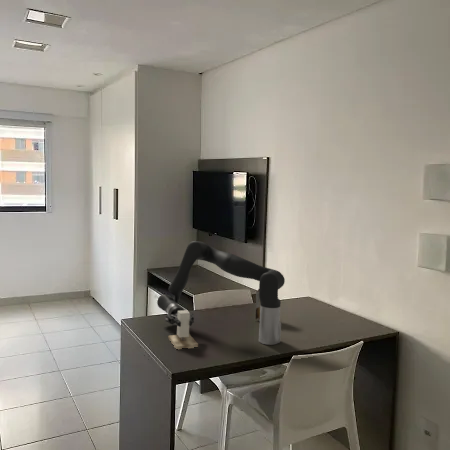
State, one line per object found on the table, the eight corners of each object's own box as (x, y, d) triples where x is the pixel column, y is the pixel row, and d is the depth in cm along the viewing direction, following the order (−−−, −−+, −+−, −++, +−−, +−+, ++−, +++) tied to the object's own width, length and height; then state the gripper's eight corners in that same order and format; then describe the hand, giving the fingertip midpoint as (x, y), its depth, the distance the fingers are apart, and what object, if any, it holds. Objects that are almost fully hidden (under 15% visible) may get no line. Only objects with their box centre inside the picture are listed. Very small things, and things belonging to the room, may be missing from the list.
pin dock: (189, 336, 222) (189, 328, 222) (198, 347, 209) (198, 338, 209) (168, 338, 219) (168, 330, 218) (176, 349, 206) (176, 340, 205)
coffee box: (273, 319, 254) (275, 290, 252) (271, 323, 248) (273, 292, 246) (257, 317, 257) (258, 288, 255) (254, 320, 250) (256, 291, 249)
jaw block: (186, 333, 216) (187, 310, 215) (188, 336, 212) (189, 313, 211) (176, 334, 215) (177, 310, 214) (179, 337, 211) (180, 313, 210)
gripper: (161, 305, 222) (170, 316, 207) (190, 304, 227) (201, 314, 212) (160, 321, 223) (169, 333, 207) (189, 319, 228) (200, 331, 212)
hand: (185, 324), depth 210 cm, fingers closed on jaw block, 4 cm apart
